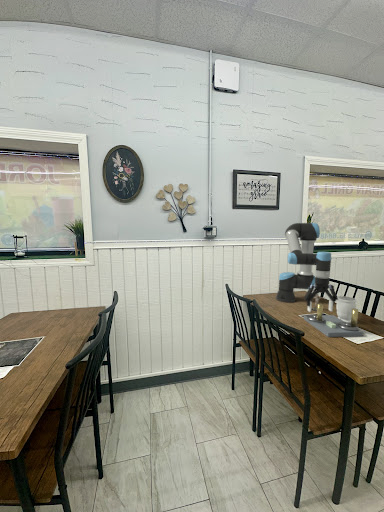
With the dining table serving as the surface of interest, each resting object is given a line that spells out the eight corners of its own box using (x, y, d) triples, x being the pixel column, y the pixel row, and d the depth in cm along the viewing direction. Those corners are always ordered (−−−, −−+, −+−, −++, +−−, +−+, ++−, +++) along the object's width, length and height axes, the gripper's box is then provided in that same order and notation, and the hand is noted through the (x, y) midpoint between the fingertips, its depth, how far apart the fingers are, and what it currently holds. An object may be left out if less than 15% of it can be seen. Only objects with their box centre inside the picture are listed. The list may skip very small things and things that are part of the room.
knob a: (303, 316, 143) (304, 300, 142) (318, 315, 144) (319, 300, 143) (312, 322, 133) (313, 305, 132) (328, 322, 134) (329, 305, 133)
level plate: (303, 319, 145) (304, 312, 144) (332, 318, 146) (333, 311, 145) (328, 337, 121) (328, 328, 120) (362, 336, 122) (363, 328, 121)
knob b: (346, 331, 122) (347, 312, 121) (333, 323, 132) (335, 306, 131) (363, 330, 123) (364, 312, 121) (349, 323, 133) (351, 306, 131)
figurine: (323, 308, 164) (324, 293, 162) (326, 312, 157) (327, 296, 156) (307, 307, 166) (308, 292, 164) (309, 310, 159) (311, 295, 158)
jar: (357, 324, 137) (360, 301, 135) (339, 323, 139) (341, 300, 137) (349, 317, 147) (351, 296, 145) (332, 316, 149) (334, 295, 147)
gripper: (306, 278, 127) (303, 313, 130) (346, 278, 129) (343, 312, 131) (299, 276, 135) (297, 309, 137) (337, 275, 136) (335, 308, 138)
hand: (319, 311), depth 134 cm, fingers open, 13 cm apart
